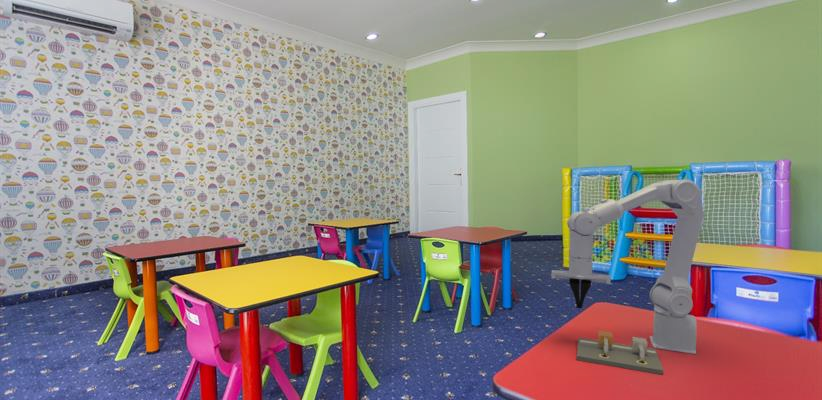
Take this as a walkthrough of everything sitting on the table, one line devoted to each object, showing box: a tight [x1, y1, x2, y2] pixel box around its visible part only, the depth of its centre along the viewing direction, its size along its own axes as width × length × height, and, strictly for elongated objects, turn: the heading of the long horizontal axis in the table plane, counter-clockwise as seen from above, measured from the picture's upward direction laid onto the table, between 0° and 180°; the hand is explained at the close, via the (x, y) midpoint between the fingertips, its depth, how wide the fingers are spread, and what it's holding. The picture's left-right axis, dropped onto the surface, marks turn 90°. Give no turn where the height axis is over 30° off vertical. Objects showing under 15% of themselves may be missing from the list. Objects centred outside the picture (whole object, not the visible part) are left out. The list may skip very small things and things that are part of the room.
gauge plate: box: [576, 337, 664, 375], centre depth 102 cm, size 18×13×2 cm
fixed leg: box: [631, 336, 648, 362], centre depth 99 cm, size 3×8×3 cm, turn 156°
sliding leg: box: [598, 330, 613, 356], centre depth 102 cm, size 3×8×3 cm, turn 156°
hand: (579, 307), depth 110 cm, fingers closed
